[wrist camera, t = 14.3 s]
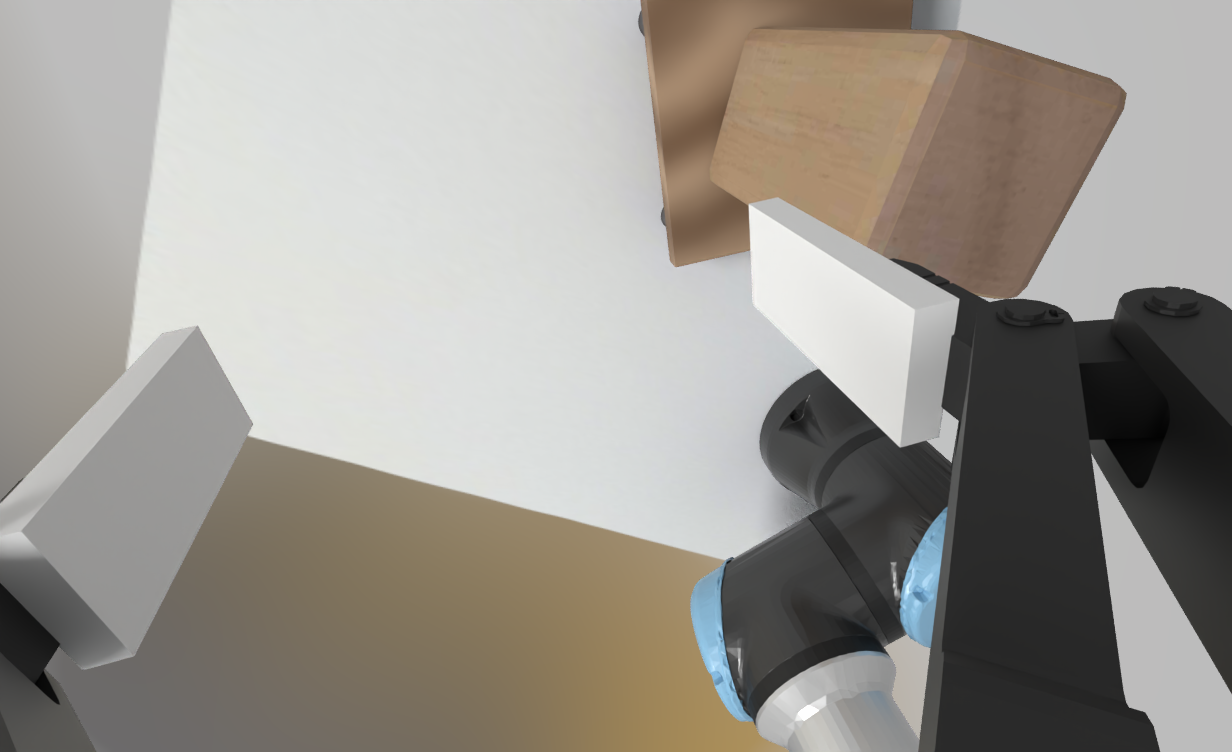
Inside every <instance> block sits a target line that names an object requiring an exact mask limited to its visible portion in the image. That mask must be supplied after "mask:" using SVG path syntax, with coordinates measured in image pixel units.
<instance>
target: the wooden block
mask: <svg viewBox="0 0 1232 752" xmlns="http://www.w3.org/2000/svg"><path fill="white" fill-rule="evenodd" d="M1125 99H1126V92H1125V91H1124V90H1123V89H1122V88H1121V87H1120V86H1119V85H1118V84H1116V83H1115V82H1114V81H1113V80H1112V79H1110V78H1107V77H1104V76H1101V75H1098V74H1095V73H1091V72H1088V71H1085V70H1082V69H1079V68H1076V67H1073V66H1069V65H1066V64H1063V63H1060V62H1057V61H1054V60H1050V59H1047V58H1044V57H1041V56H1038V55H1035V54H1032V53H1028V52H1025V51H1022V50H1019V49H1016V48H1012V47H1009V46H1006V45H1003V44H1000V43H997V42H994V41H990V40H987V39H984V38H981V37H978V36H975V35H972V34H968V33H965V32H962V31H955V30H908V29H861V28H813V27H766V26H764V27H759V28H755V29H752V30H751V32H750V33H749V35H748V37H747V38H746V40H745V43H744V47H743V50H742V54H741V57H740V61H739V65H738V68H737V72H736V75H735V79H734V82H733V86H732V90H731V93H730V97H729V100H728V104H727V108H726V111H725V115H724V118H723V122H722V126H721V129H720V133H719V136H718V140H717V143H716V147H715V151H714V154H713V158H712V161H711V165H710V169H709V171H710V181H712V182H713V183H714V184H716V185H717V186H718V187H720V188H721V189H723V190H725V191H726V192H728V193H729V194H731V195H732V196H734V197H735V198H737V199H739V200H740V201H742V202H743V203H745V204H746V205H748V206H749V204H750V203H754V202H759V201H763V200H768V199H772V198H777V197H778V198H780V199H782V200H783V201H785V202H787V203H789V204H791V205H792V206H794V207H796V208H798V209H799V210H801V211H803V212H805V213H807V214H808V215H810V216H812V217H814V218H816V219H817V220H819V221H821V222H823V223H825V224H826V225H828V226H830V227H832V228H834V229H835V230H837V231H839V232H841V233H842V234H844V235H846V236H848V237H850V238H851V239H853V240H855V241H857V242H859V243H860V244H862V245H864V246H866V247H868V248H869V249H871V250H873V251H875V252H876V253H878V254H880V255H882V256H884V257H885V258H887V259H892V258H895V259H899V260H903V261H907V262H911V263H915V264H919V265H921V266H922V267H924V268H926V269H928V270H930V271H932V272H934V273H935V275H936V276H938V275H939V276H941V277H943V278H945V279H947V280H949V281H950V284H951V283H954V284H956V285H958V286H960V287H962V288H964V289H966V290H967V291H969V292H971V293H973V294H975V295H977V296H982V297H988V298H994V299H996V298H998V299H1002V298H1004V299H1008V298H1012V297H1016V296H1018V295H1019V294H1020V293H1021V292H1022V291H1023V290H1024V289H1025V288H1026V287H1027V286H1028V284H1029V282H1030V280H1031V278H1032V276H1033V275H1034V273H1035V271H1036V269H1037V267H1038V265H1039V264H1040V262H1041V260H1042V258H1043V256H1044V254H1045V253H1046V251H1047V249H1048V247H1049V245H1050V243H1051V242H1052V240H1053V238H1054V236H1055V234H1056V232H1057V231H1058V229H1059V227H1060V225H1061V223H1062V221H1063V220H1064V218H1065V216H1066V214H1067V212H1068V210H1069V209H1070V207H1071V205H1072V203H1073V201H1074V199H1075V198H1076V196H1077V194H1078V192H1079V190H1080V188H1081V187H1082V185H1083V182H1084V181H1085V179H1086V177H1087V176H1088V174H1089V172H1090V170H1091V168H1092V166H1093V165H1094V163H1095V161H1096V159H1097V157H1098V155H1099V154H1100V152H1101V150H1102V148H1103V146H1104V144H1105V142H1106V141H1107V139H1108V137H1109V135H1110V133H1111V131H1112V130H1113V128H1114V126H1115V124H1116V122H1117V121H1118V119H1119V117H1120V115H1121V113H1122V111H1123V109H1124V105H1125Z"/></svg>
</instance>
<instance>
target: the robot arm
mask: <svg viewBox="0 0 1232 752" xmlns="http://www.w3.org/2000/svg"><path fill="white" fill-rule="evenodd" d="M749 225H750V250H751V274H752V299H753V305H754V306H755V307H756V308H757V309H758V310H759V311H760V312H761V313H762V314H763V315H764V316H765V317H766V318H767V319H768V320H769V321H770V322H771V323H772V324H773V325H774V326H775V327H776V328H777V329H779V330H780V331H781V332H782V333H783V334H784V335H785V336H786V337H787V338H788V339H789V340H790V341H791V342H792V343H793V344H794V345H795V346H796V347H797V348H798V349H799V350H800V351H801V352H802V353H803V354H804V355H805V356H806V357H807V358H808V359H809V360H810V361H811V362H812V363H813V364H815V365H816V366H817V367H818V368H819V370H816V371H814V372H812V373H810V374H808V375H806V376H804V377H803V378H801V379H800V380H798V381H797V382H795V383H794V384H793V385H791V386H790V387H789V388H788V389H787V390H786V391H785V392H784V393H783V394H782V395H781V396H780V397H779V398H778V399H777V400H776V402H775V403H774V404H773V406H772V407H771V409H770V410H769V412H768V414H767V416H766V418H765V420H764V423H763V426H762V429H761V434H760V451H761V455H762V458H763V461H764V463H765V464H766V466H767V467H768V469H769V470H770V472H771V473H772V475H773V476H774V477H775V479H776V480H777V481H778V482H779V483H780V484H781V485H782V486H784V487H785V488H787V489H788V490H790V491H792V492H794V493H795V494H797V495H798V496H800V497H801V498H803V499H804V500H806V501H807V502H809V503H810V504H812V505H813V506H815V507H817V508H818V509H819V510H817V511H816V512H814V513H812V514H811V515H809V516H807V517H805V518H803V519H801V520H800V521H798V522H796V523H795V524H793V525H791V526H789V527H788V528H786V529H784V530H782V531H781V532H779V533H777V534H775V535H774V536H772V537H770V538H769V539H767V540H765V541H763V542H762V543H760V544H758V545H756V546H755V547H753V548H751V549H750V550H748V551H746V552H744V553H743V554H741V555H739V556H737V557H736V558H733V557H731V558H729V559H727V560H726V561H724V563H723V564H722V565H721V567H719V568H717V569H716V570H714V571H713V572H711V573H709V574H708V575H706V576H705V577H703V578H702V579H700V580H699V582H697V584H696V585H695V588H694V590H693V593H692V596H691V616H692V622H693V627H694V631H695V634H696V639H697V642H698V645H699V648H700V652H701V655H702V657H703V660H704V663H705V665H706V668H707V670H708V672H709V673H710V674H711V675H712V678H713V681H714V685H715V688H716V690H717V692H718V694H719V696H720V698H721V700H722V701H723V703H724V705H725V706H726V708H727V709H728V710H729V712H730V713H731V714H732V715H733V716H734V717H735V718H736V719H738V720H739V721H754V723H755V725H756V728H757V730H758V732H759V734H760V735H761V736H762V737H763V738H765V739H766V740H768V741H771V742H773V743H775V744H778V745H780V746H782V747H785V748H786V749H788V750H789V752H1160V750H1159V745H1158V742H1157V738H1156V734H1155V730H1154V726H1153V724H1152V723H1151V721H1150V720H1149V718H1148V716H1147V715H1146V713H1145V712H1142V711H1139V710H1135V709H1132V708H1129V707H1128V705H1127V703H1126V700H1125V696H1124V691H1123V685H1122V677H1121V670H1120V663H1119V656H1118V648H1117V640H1116V633H1115V626H1114V619H1113V611H1112V604H1111V597H1110V589H1109V582H1108V574H1107V567H1106V560H1105V553H1104V545H1103V537H1102V530H1101V523H1100V515H1099V508H1098V501H1097V493H1096V486H1095V479H1094V472H1093V464H1092V457H1091V454H1092V455H1093V457H1094V459H1095V460H1096V462H1097V464H1098V466H1099V467H1100V469H1101V471H1102V472H1103V474H1104V476H1105V478H1106V479H1107V481H1108V482H1109V484H1110V486H1111V488H1112V489H1113V491H1114V493H1115V494H1116V496H1117V498H1118V500H1119V502H1120V503H1121V505H1122V507H1123V508H1124V510H1125V511H1126V514H1127V515H1128V517H1129V519H1130V520H1131V522H1132V524H1133V526H1134V527H1135V529H1136V530H1137V532H1138V534H1139V536H1140V538H1141V539H1142V541H1143V543H1144V544H1145V546H1146V548H1147V550H1148V551H1149V553H1150V555H1151V556H1152V558H1153V560H1154V561H1155V563H1156V565H1157V566H1158V568H1159V570H1160V572H1161V573H1162V575H1163V577H1164V579H1165V580H1166V582H1167V584H1168V585H1169V587H1170V589H1171V591H1172V592H1173V594H1174V596H1175V597H1176V599H1177V601H1178V602H1179V604H1180V606H1181V608H1182V609H1183V611H1184V613H1185V615H1186V616H1187V618H1188V620H1189V621H1190V623H1191V625H1192V626H1193V628H1194V630H1195V632H1196V633H1197V635H1198V637H1199V639H1200V640H1201V642H1202V644H1203V645H1204V647H1205V649H1206V650H1207V652H1208V653H1209V656H1210V657H1211V659H1212V661H1213V662H1214V664H1215V666H1216V668H1217V669H1218V671H1219V673H1220V674H1221V676H1222V678H1223V680H1224V681H1225V683H1226V685H1227V687H1228V688H1229V690H1230V692H1231V693H1232V310H1231V309H1230V308H1229V307H1227V306H1226V305H1225V304H1223V303H1222V302H1220V301H1218V300H1216V299H1214V298H1212V297H1210V296H1207V295H1203V294H1200V293H1197V292H1196V291H1194V290H1190V289H1185V288H1183V289H1180V288H1179V287H1165V288H1144V289H1136V290H1133V291H1130V292H1127V293H1124V294H1123V296H1122V297H1121V298H1120V299H1119V302H1118V305H1117V309H1116V312H1115V315H1114V319H1108V320H1093V321H1079V322H1073V320H1072V318H1071V316H1070V315H1069V313H1068V312H1066V311H1064V310H1063V309H1061V308H1059V307H1057V306H1055V305H1051V304H1048V303H1045V302H1041V301H1034V300H1027V299H1004V300H999V301H993V302H988V301H986V300H984V299H982V298H980V297H979V296H977V295H975V294H973V293H971V292H969V291H967V290H966V289H964V288H962V287H960V286H958V285H956V284H954V283H951V284H950V281H949V280H947V279H945V278H943V277H941V276H939V275H938V276H936V275H935V273H934V272H932V271H930V270H928V269H926V268H924V267H922V266H921V265H919V264H915V263H911V262H907V261H903V260H899V259H895V258H892V259H887V258H885V257H884V256H882V255H880V254H878V253H876V252H875V251H873V250H871V249H869V248H868V247H866V246H864V245H862V244H860V243H859V242H857V241H855V240H853V239H851V238H850V237H848V236H846V235H844V234H842V233H841V232H839V231H837V230H835V229H834V228H832V227H830V226H828V225H826V224H825V223H823V222H821V221H819V220H817V219H816V218H814V217H812V216H810V215H808V214H807V213H805V212H803V211H801V210H799V209H798V208H796V207H794V206H792V205H791V204H789V203H787V202H785V201H783V200H782V199H780V198H778V197H777V198H772V199H768V200H763V201H759V202H754V203H750V204H749ZM943 409H945V410H946V411H947V412H948V413H950V414H951V415H952V416H953V417H955V418H956V419H957V420H958V421H959V423H958V429H957V436H956V441H955V447H954V453H953V459H952V463H951V462H950V461H949V460H947V459H946V458H945V457H944V456H943V455H942V454H941V453H939V452H938V451H937V450H936V449H935V448H934V447H933V446H932V445H930V444H929V443H928V442H927V441H926V440H929V439H934V438H937V437H939V433H940V426H941V419H942V413H943ZM252 425H253V423H252V421H251V419H250V417H249V416H248V414H247V412H246V410H245V409H244V407H243V405H242V403H241V402H240V400H239V398H238V396H237V394H236V393H235V391H234V389H233V387H232V386H231V384H230V382H229V380H228V378H227V377H226V375H225V373H224V371H223V370H222V368H221V366H220V364H219V363H218V361H217V359H216V357H215V355H214V354H213V352H212V350H211V348H210V347H209V345H208V343H207V341H206V339H205V338H204V336H203V334H202V332H201V331H200V329H199V327H198V326H194V327H189V328H185V329H180V330H175V331H171V332H166V333H162V334H161V335H160V336H159V337H158V338H157V339H156V340H155V341H154V343H153V344H152V345H151V346H150V347H149V348H148V349H147V350H146V351H145V352H144V353H143V354H142V355H141V356H140V357H139V358H138V359H137V360H136V361H135V363H134V364H133V365H132V366H131V367H130V368H129V369H128V370H127V371H126V372H125V373H124V374H123V375H122V376H121V377H120V378H119V379H118V380H117V381H116V382H115V384H114V385H113V386H112V387H111V388H110V389H109V390H108V391H107V392H106V393H105V394H104V395H103V396H102V397H101V398H100V399H99V400H98V401H97V403H96V404H95V405H94V406H93V407H92V408H91V409H90V410H89V411H88V412H87V413H86V414H85V415H84V416H83V417H82V418H81V419H80V420H79V421H78V422H77V424H76V425H75V426H74V427H73V428H72V429H71V430H70V431H69V432H68V433H67V434H66V435H65V436H64V437H63V438H62V439H61V440H60V441H59V442H58V443H57V445H56V446H55V447H54V448H53V449H52V450H51V451H50V452H49V453H48V454H47V455H46V456H45V457H44V458H43V459H42V460H41V462H39V463H38V465H37V466H36V467H35V468H34V469H33V470H32V471H31V472H30V473H29V474H28V475H27V476H26V477H25V478H23V479H22V480H20V481H19V482H18V483H17V484H16V485H15V486H14V487H13V488H12V489H11V490H10V491H9V492H8V494H7V495H6V496H5V497H4V498H3V499H2V500H1V501H0V752H96V750H95V748H94V746H93V744H92V743H91V741H90V739H89V737H88V735H87V733H86V731H85V729H84V728H83V726H82V724H81V722H80V720H79V718H78V716H77V715H76V713H75V711H74V709H73V707H72V705H71V704H70V702H69V700H68V698H67V696H66V694H65V692H64V690H63V688H62V687H61V685H60V683H59V682H58V681H57V680H56V679H55V678H54V677H52V675H50V674H49V673H48V672H47V671H46V670H45V667H46V665H47V664H48V662H49V661H50V659H51V658H52V656H53V655H54V653H55V651H56V650H57V648H58V647H60V648H61V649H62V650H63V651H64V652H65V653H66V654H67V655H68V656H69V657H70V658H71V659H72V660H73V661H74V662H75V663H76V664H77V665H78V666H79V667H80V668H81V669H82V670H85V669H89V668H93V667H96V666H99V665H104V664H107V663H111V662H115V661H118V660H122V659H126V658H129V657H133V656H135V654H136V652H137V650H138V648H139V646H140V644H141V642H142V640H143V638H144V636H145V634H146V632H147V630H148V628H149V626H150V624H151V622H152V620H153V618H154V616H155V614H156V612H157V611H158V609H159V607H160V605H161V603H162V601H163V599H164V597H165V595H166V593H167V591H168V589H169V587H170V585H171V583H172V581H173V579H174V577H175V575H176V574H177V571H178V570H179V568H180V566H181V564H182V562H183V560H184V558H185V556H186V554H187V552H188V550H189V548H190V546H191V544H192V542H193V540H194V538H195V537H196V534H197V533H198V530H199V528H200V527H201V525H202V523H203V521H204V518H205V517H206V515H207V513H208V511H209V509H210V507H211V505H212V503H213V501H214V499H215V497H216V496H217V494H218V492H219V490H220V488H221V486H222V484H223V482H224V480H225V478H226V476H227V474H228V472H229V470H230V468H231V466H232V464H233V462H234V460H235V458H236V456H237V455H238V453H239V451H240V449H241V447H242V445H243V443H244V441H245V439H246V437H247V435H248V433H249V431H250V429H251V427H252ZM906 634H908V636H909V637H910V638H911V639H913V640H914V641H917V642H918V643H919V644H921V645H923V646H925V647H929V648H931V649H930V658H929V666H928V675H927V683H926V691H925V699H924V707H923V716H922V724H921V732H920V741H919V739H918V737H917V736H916V734H915V733H914V731H913V730H912V728H911V726H910V725H909V723H908V722H907V720H906V719H905V717H904V716H903V714H902V712H901V711H900V709H899V707H898V706H897V704H896V703H895V701H894V700H893V697H892V691H893V685H894V680H895V676H896V667H895V664H894V662H893V660H892V659H891V658H890V656H889V655H888V653H887V652H886V650H885V649H884V647H885V646H886V645H888V644H890V643H892V642H894V641H895V640H897V639H899V638H901V637H903V636H905V635H906Z"/></svg>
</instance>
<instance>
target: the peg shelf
mask: <svg viewBox="0 0 1232 752" xmlns="http://www.w3.org/2000/svg"><path fill="white" fill-rule="evenodd" d="M641 8H642V10H641V12H640V15H639V21H638V22H639V28H640V31H641V33H642V34H643V35H644V36H645V43H646V52H647V61H648V70H649V79H650V88H651V97H652V105H653V114H654V123H655V132H656V141H657V150H658V159H659V168H660V176H661V185H662V194H663V203H664V208H663V210H662V212H661V220H662V222H663V224H664V225H665V226H666V230H667V239H668V247H669V256H670V261H671V263H672V264H673V265H674V266H675V267H679V266H684V265H688V264H693V263H697V262H701V261H706V260H710V259H714V258H719V257H723V256H727V255H732V254H736V253H740V252H745V251H749V250H750V225H749V206H748V205H746V204H745V203H743V202H742V201H740V200H739V199H737V198H735V197H734V196H732V195H731V194H729V193H728V192H726V191H725V190H723V189H721V188H720V187H718V186H717V185H716V184H714V183H713V182H712V181H710V171H709V169H710V165H711V161H712V158H713V154H714V151H715V147H716V143H717V140H718V136H719V133H720V129H721V126H722V122H723V118H724V115H725V111H726V108H727V104H728V100H729V97H730V93H731V90H732V86H733V82H734V79H735V75H736V72H737V68H738V65H739V61H740V57H741V54H742V50H743V47H744V43H745V40H746V38H747V37H748V35H749V33H750V32H751V30H752V29H755V28H759V27H764V26H766V27H813V28H861V29H908V30H911V20H912V8H913V0H641Z"/></svg>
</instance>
